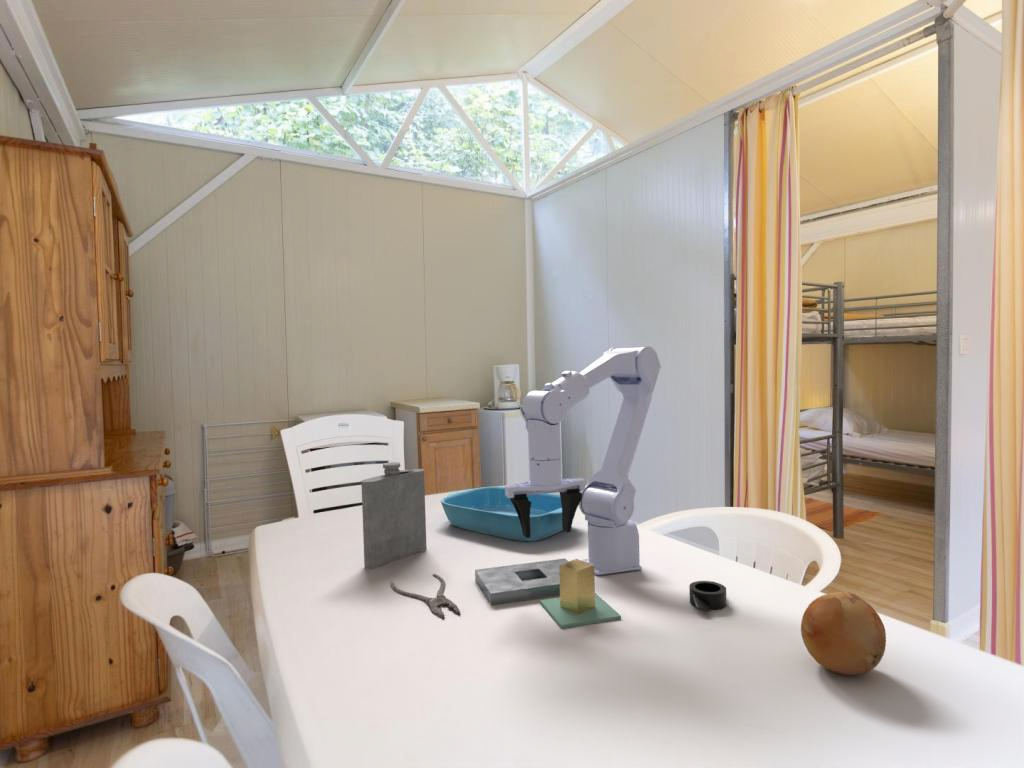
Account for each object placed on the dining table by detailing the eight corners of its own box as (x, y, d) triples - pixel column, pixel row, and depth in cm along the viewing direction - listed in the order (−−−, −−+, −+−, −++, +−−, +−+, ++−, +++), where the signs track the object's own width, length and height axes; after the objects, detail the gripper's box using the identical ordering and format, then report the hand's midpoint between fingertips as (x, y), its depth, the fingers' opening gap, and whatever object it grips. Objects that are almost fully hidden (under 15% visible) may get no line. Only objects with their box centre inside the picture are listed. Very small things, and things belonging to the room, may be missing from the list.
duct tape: (668, 603, 100) (668, 586, 100) (710, 590, 105) (710, 574, 105) (704, 620, 93) (704, 602, 93) (747, 605, 98) (747, 588, 98)
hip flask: (371, 570, 119) (367, 470, 118) (358, 566, 122) (354, 468, 121) (429, 548, 132) (426, 458, 131) (417, 545, 134) (414, 456, 133)
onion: (825, 644, 84) (825, 574, 84) (902, 674, 76) (902, 597, 75) (784, 664, 79) (784, 589, 79) (862, 699, 71) (862, 616, 70)
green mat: (594, 595, 104) (594, 592, 104) (621, 618, 94) (620, 615, 94) (539, 603, 101) (539, 600, 101) (561, 628, 91) (561, 625, 91)
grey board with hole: (565, 568, 117) (565, 558, 117) (590, 590, 105) (589, 579, 105) (475, 580, 112) (474, 569, 112) (491, 605, 100) (490, 593, 100)
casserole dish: (424, 525, 151) (423, 497, 151) (484, 507, 168) (483, 482, 168) (541, 553, 128) (540, 519, 127) (597, 528, 145) (596, 499, 144)
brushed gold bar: (577, 600, 100) (576, 558, 100) (595, 607, 97) (594, 564, 97) (560, 606, 98) (559, 564, 98) (577, 614, 95) (576, 570, 94)
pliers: (430, 570, 117) (492, 600, 101) (430, 574, 117) (492, 605, 101) (385, 583, 111) (444, 617, 95) (385, 587, 111) (444, 622, 95)
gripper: (573, 451, 112) (575, 523, 113) (499, 457, 108) (501, 532, 109) (589, 457, 106) (591, 533, 106) (510, 464, 101) (513, 543, 102)
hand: (546, 533), depth 107 cm, fingers open, 7 cm apart
